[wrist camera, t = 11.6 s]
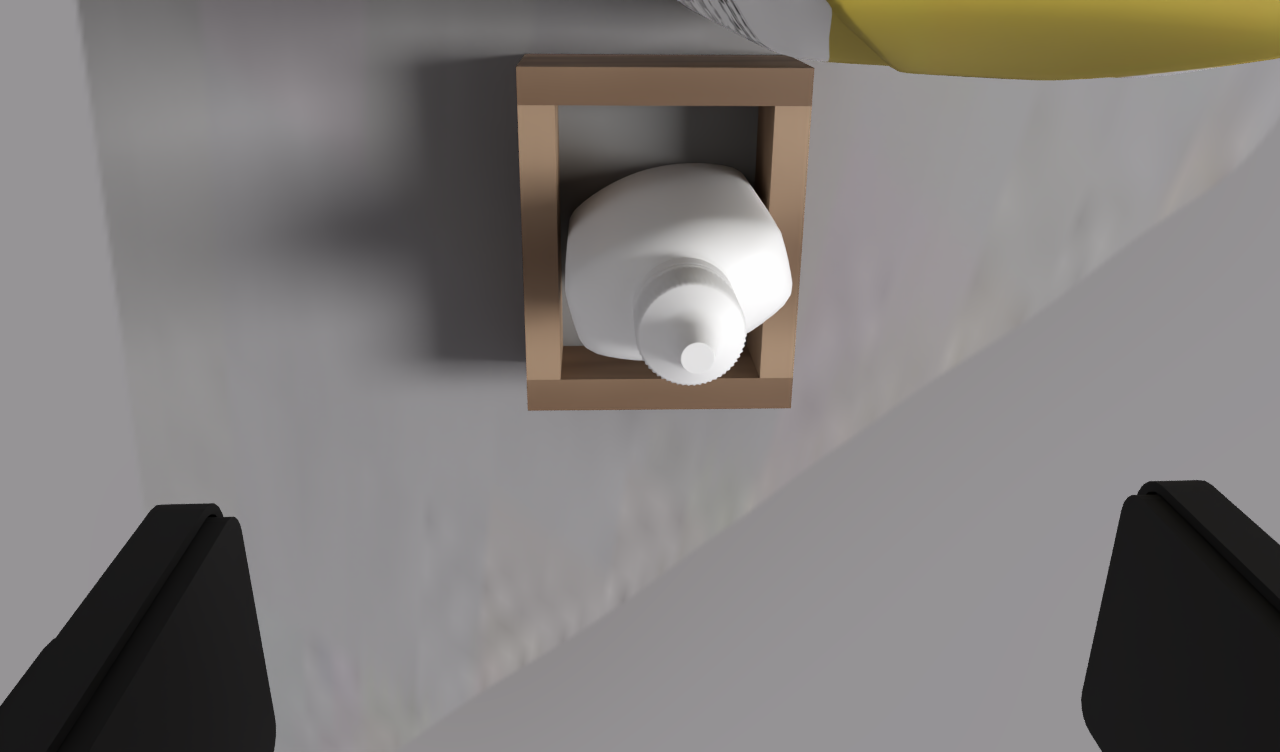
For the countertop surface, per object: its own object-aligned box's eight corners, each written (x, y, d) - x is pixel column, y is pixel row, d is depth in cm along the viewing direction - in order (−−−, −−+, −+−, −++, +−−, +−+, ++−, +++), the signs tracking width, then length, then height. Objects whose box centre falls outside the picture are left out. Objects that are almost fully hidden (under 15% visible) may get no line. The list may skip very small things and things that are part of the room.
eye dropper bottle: (728, 305, 33) (796, 479, 22) (557, 265, 32) (539, 424, 21) (767, 174, 32) (862, 289, 21) (589, 128, 31) (588, 223, 20)
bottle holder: (525, 53, 31) (515, 66, 27) (788, 55, 31) (814, 68, 28) (534, 362, 35) (527, 410, 31) (769, 361, 35) (790, 408, 31)
